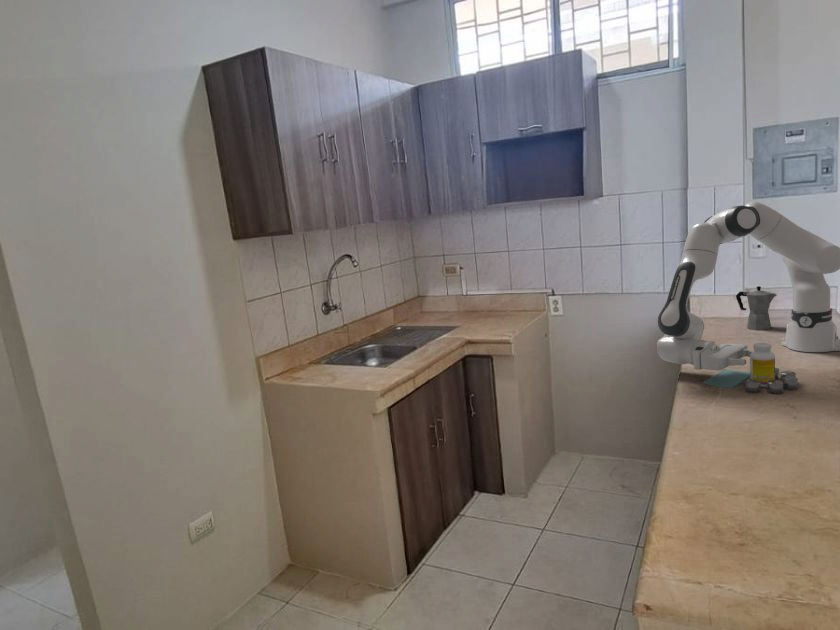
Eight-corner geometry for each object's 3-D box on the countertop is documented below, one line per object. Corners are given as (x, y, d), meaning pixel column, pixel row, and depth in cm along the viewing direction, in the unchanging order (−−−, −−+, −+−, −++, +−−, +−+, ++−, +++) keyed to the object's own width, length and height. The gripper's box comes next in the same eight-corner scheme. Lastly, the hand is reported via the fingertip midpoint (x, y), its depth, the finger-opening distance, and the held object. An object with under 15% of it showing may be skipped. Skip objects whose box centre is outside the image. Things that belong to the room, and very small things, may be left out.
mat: (724, 370, 192) (724, 369, 192) (753, 374, 185) (753, 373, 185) (703, 383, 182) (703, 382, 182) (733, 388, 175) (733, 386, 175)
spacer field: (767, 375, 183) (767, 366, 182) (808, 380, 174) (808, 371, 174) (743, 391, 171) (743, 382, 171) (785, 398, 162) (786, 388, 162)
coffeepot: (779, 326, 239) (779, 284, 236) (773, 331, 233) (773, 288, 229) (739, 324, 250) (739, 284, 247) (732, 328, 244) (732, 287, 240)
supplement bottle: (778, 387, 172) (778, 346, 169) (754, 388, 173) (754, 348, 171) (770, 380, 178) (770, 341, 176) (747, 381, 180) (746, 342, 177)
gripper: (720, 355, 194) (764, 360, 183) (692, 370, 181) (738, 376, 171) (719, 337, 193) (764, 341, 182) (691, 351, 180) (737, 356, 170)
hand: (751, 358), depth 176 cm, fingers open, 8 cm apart
